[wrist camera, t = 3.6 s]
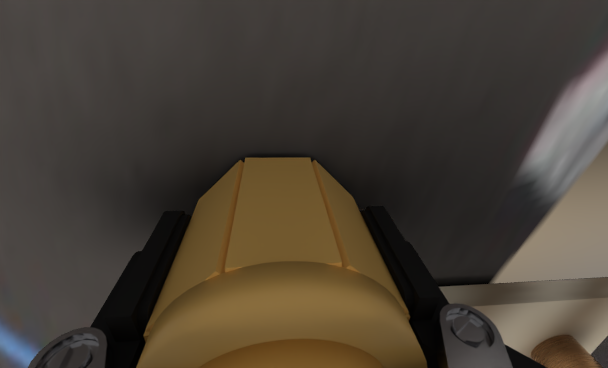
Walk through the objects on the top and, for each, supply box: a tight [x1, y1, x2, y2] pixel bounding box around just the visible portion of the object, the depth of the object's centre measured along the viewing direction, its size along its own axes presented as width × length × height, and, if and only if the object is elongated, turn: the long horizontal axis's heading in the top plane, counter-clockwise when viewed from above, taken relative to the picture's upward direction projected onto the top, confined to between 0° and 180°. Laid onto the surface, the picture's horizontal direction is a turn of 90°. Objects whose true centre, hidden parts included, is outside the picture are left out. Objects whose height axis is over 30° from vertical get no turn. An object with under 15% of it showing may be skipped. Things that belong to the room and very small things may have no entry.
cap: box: [136, 158, 427, 368], centre depth 8 cm, size 6×6×7 cm
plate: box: [439, 277, 608, 359], centre depth 15 cm, size 18×8×1 cm, turn 87°
